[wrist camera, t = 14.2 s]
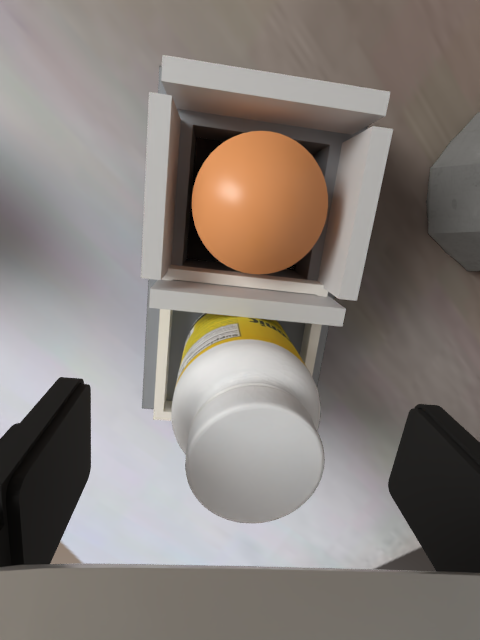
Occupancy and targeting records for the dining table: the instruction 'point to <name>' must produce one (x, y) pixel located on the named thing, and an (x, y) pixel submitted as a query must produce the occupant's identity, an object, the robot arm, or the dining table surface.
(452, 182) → the coffeepot
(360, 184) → the grey divided storage tray
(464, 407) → the dining table surface
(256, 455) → the supplement bottle
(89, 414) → the robot arm
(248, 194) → the orange rounded capsule
